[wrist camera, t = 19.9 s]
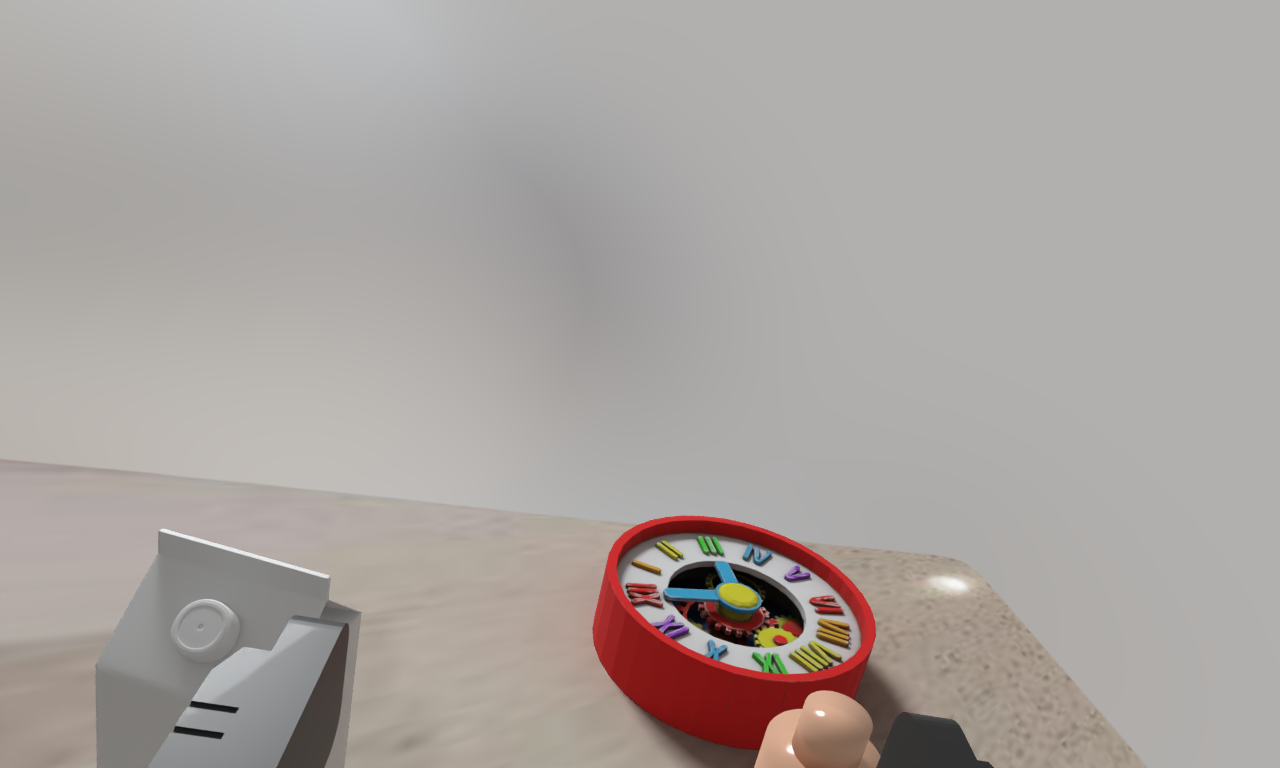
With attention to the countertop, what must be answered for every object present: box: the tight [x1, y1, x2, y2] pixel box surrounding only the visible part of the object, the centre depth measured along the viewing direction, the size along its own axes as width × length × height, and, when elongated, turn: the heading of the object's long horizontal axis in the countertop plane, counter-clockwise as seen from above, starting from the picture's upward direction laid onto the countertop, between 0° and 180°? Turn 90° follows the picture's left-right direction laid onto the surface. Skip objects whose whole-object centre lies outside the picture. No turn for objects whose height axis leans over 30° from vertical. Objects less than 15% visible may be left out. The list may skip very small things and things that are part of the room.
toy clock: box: [592, 516, 876, 750], centre depth 65 cm, size 20×6×20 cm
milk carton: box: [96, 528, 362, 768], centre depth 37 cm, size 7×7×19 cm
